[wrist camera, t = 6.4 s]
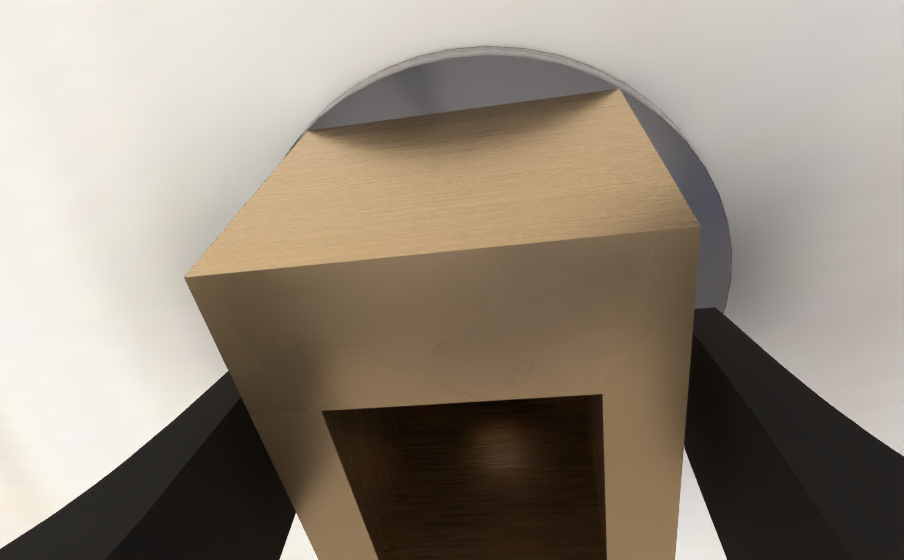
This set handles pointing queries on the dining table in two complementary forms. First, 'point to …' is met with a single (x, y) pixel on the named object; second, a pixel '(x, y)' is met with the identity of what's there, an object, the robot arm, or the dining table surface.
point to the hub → (531, 78)
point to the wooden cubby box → (467, 333)
